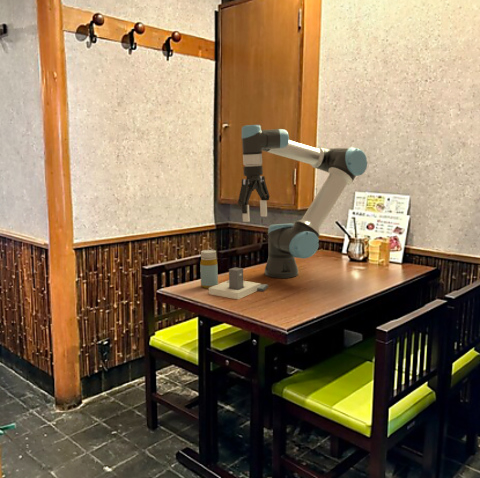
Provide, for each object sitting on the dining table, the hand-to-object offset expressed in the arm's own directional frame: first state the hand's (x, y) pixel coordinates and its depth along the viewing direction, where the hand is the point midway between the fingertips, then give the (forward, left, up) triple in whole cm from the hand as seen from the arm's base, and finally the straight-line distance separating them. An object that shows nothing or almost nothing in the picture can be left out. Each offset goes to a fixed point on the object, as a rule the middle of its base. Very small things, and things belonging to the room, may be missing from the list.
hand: (255, 218), depth 196 cm
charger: (+12, -2, -28) cm, 31 cm away
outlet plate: (+10, -4, -28) cm, 30 cm away
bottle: (+9, -17, -29) cm, 35 cm away
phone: (+1, +3, -28) cm, 29 cm away
